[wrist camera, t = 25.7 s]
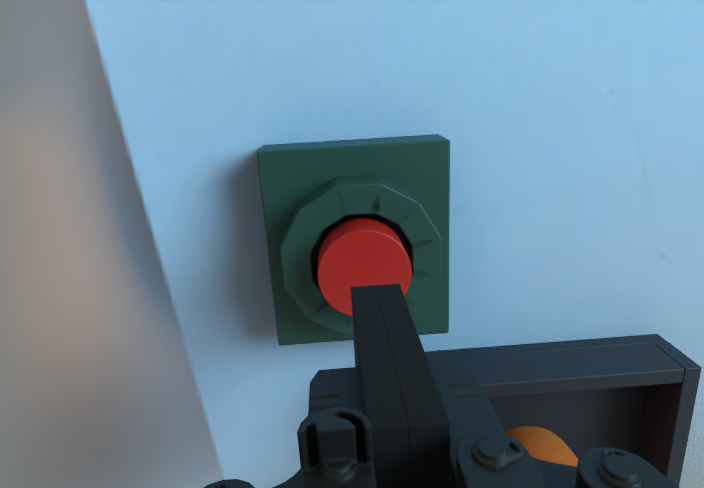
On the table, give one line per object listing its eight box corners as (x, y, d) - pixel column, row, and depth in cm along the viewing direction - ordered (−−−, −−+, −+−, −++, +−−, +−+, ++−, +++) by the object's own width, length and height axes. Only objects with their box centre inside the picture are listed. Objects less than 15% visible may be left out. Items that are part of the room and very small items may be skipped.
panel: (282, 324, 25) (275, 367, 22) (262, 144, 23) (250, 158, 19) (438, 312, 26) (458, 353, 22) (438, 134, 23) (461, 145, 19)
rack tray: (393, 561, 31) (401, 616, 28) (385, 354, 26) (394, 391, 23) (625, 540, 31) (659, 592, 28) (657, 333, 27) (701, 367, 24)
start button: (321, 302, 21) (321, 321, 20) (314, 220, 20) (314, 233, 18) (405, 296, 21) (412, 314, 20) (403, 214, 20) (411, 227, 19)
